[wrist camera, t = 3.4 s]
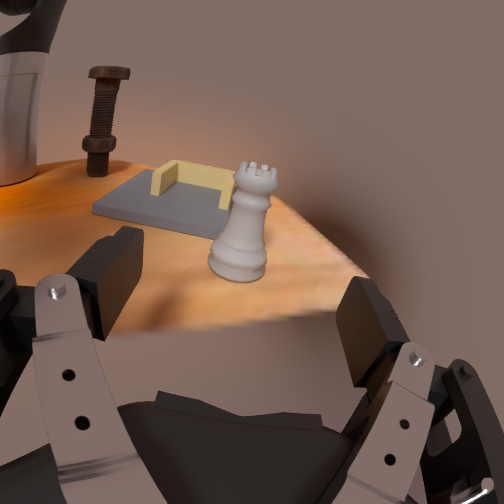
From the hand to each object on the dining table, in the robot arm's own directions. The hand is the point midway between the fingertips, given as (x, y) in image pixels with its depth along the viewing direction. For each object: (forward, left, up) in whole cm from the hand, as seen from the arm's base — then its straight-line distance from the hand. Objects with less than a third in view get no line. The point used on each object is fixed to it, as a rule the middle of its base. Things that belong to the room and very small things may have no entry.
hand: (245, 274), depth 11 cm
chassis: (-8, +22, -6) cm, 24 cm away
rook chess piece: (0, +10, -6) cm, 12 cm away
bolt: (-21, +26, -6) cm, 34 cm away
